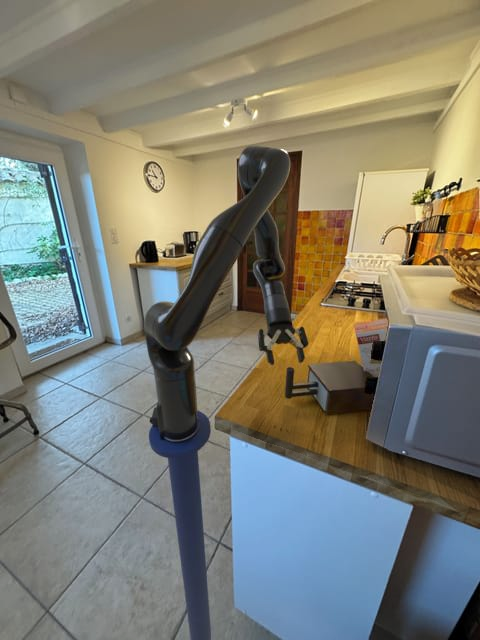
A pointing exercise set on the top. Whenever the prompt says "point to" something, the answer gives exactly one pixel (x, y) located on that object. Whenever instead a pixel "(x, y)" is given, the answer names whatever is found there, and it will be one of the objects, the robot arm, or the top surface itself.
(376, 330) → the cracker box
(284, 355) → the top surface
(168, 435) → the robot arm
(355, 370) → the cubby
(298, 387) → the drawer
